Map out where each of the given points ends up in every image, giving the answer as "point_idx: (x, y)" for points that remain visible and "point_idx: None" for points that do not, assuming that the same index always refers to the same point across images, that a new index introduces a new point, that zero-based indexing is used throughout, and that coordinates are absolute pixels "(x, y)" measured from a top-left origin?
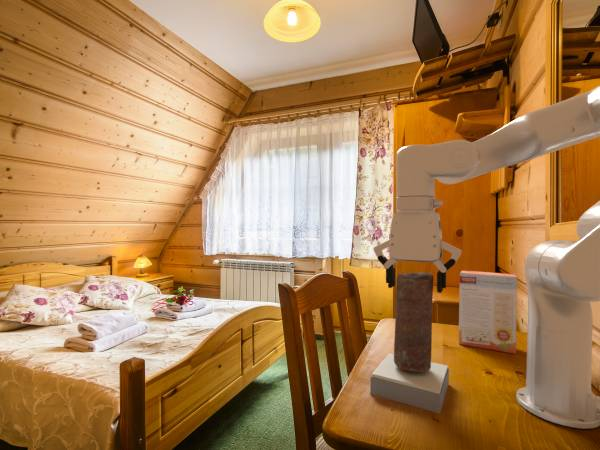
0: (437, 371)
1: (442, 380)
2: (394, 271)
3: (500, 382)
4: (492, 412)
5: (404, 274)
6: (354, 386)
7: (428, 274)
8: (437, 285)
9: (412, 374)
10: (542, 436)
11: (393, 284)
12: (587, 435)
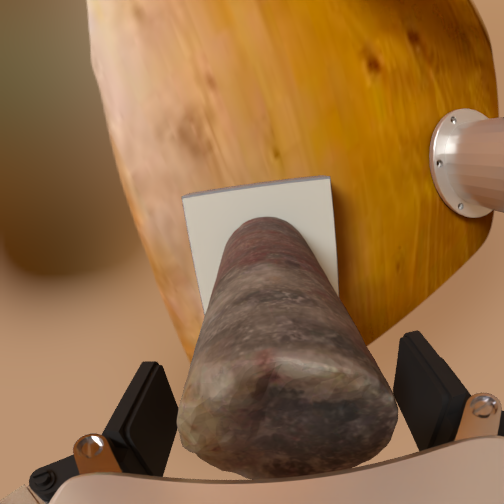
0: (317, 230)
1: (336, 268)
2: (140, 431)
3: (399, 102)
4: (400, 237)
5: (209, 426)
6: (177, 307)
7: (370, 406)
8: (404, 413)
9: None
10: (450, 260)
11: (168, 397)
12: (488, 219)
